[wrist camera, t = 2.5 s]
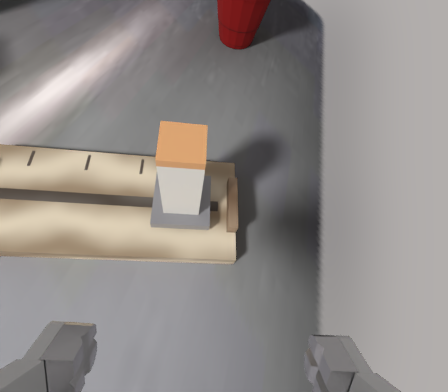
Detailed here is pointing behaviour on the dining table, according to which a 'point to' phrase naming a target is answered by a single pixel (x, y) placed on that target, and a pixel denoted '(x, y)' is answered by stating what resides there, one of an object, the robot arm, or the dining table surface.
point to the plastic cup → (240, 21)
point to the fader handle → (181, 178)
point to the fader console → (104, 209)
